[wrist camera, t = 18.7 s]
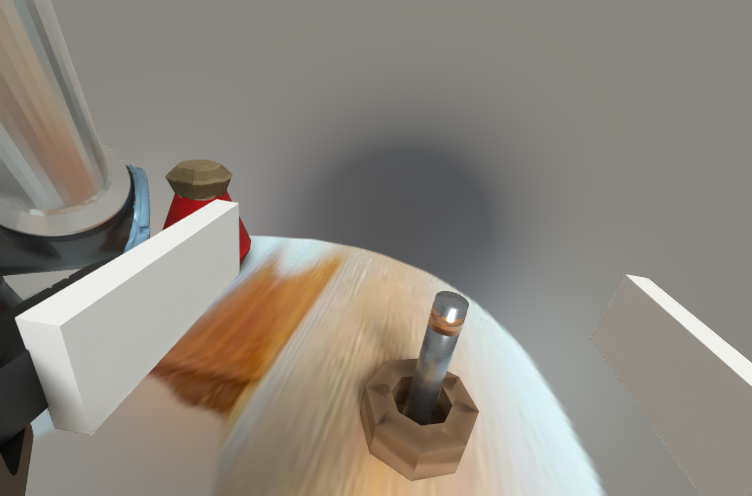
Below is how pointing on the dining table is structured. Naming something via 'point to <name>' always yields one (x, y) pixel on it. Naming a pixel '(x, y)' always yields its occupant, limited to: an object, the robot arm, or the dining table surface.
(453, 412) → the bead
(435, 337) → the copper-banded metal rod
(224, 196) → the bottle
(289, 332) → the dining table surface
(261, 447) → the dining table surface
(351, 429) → the dining table surface
